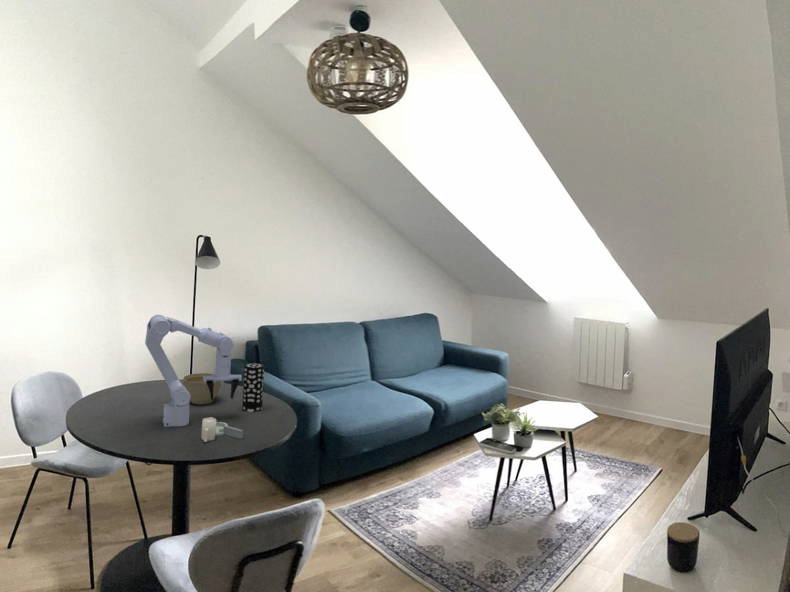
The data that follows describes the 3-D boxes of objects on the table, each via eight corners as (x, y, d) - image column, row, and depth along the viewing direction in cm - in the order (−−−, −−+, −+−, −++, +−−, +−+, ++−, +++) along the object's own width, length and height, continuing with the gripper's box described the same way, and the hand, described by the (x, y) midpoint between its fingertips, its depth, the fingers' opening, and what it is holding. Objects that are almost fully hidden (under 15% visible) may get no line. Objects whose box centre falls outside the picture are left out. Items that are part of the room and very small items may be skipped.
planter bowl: (200, 409, 241) (201, 384, 240) (174, 401, 249) (175, 377, 248) (228, 401, 255) (229, 377, 254) (203, 394, 263) (204, 371, 262)
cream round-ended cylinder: (203, 434, 211) (205, 416, 210) (216, 435, 212) (218, 417, 211) (198, 442, 204) (199, 423, 203) (211, 443, 204) (213, 424, 203)
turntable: (203, 427, 218) (203, 420, 218) (240, 426, 223) (240, 418, 222) (203, 440, 205) (204, 432, 205) (242, 438, 210) (243, 431, 210)
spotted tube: (266, 411, 245) (268, 366, 242) (249, 415, 239) (251, 368, 236) (254, 406, 250) (256, 362, 248) (238, 410, 244) (240, 364, 242)
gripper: (240, 362, 234) (239, 394, 235) (203, 363, 228) (202, 396, 229) (243, 366, 227) (241, 399, 229) (204, 367, 221) (203, 401, 223)
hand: (221, 398), depth 229 cm, fingers open, 7 cm apart
